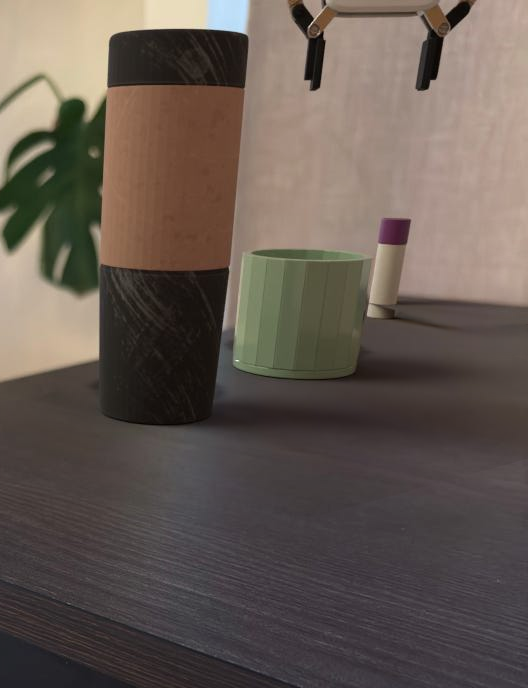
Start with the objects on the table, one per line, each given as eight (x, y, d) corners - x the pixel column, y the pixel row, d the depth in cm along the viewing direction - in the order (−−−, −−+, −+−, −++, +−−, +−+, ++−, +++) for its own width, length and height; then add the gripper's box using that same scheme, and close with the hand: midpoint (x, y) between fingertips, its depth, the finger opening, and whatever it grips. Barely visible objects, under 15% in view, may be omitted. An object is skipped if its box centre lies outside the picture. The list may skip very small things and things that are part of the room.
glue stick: (385, 314, 96) (401, 217, 92) (399, 318, 94) (417, 219, 90) (361, 315, 96) (376, 217, 91) (375, 319, 93) (391, 219, 89)
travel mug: (241, 415, 59) (282, 35, 50) (147, 432, 55) (171, 24, 46) (161, 391, 64) (184, 46, 55) (70, 405, 61) (78, 37, 51)
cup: (318, 353, 77) (333, 247, 74) (379, 376, 69) (398, 259, 66) (213, 357, 75) (223, 248, 72) (263, 381, 67) (277, 261, 64)
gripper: (497, -137, 82) (456, 92, 90) (292, -130, 84) (270, 92, 92) (521, -162, 75) (475, 87, 83) (299, -154, 77) (274, 87, 85)
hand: (367, 90), depth 87 cm, fingers open, 9 cm apart
